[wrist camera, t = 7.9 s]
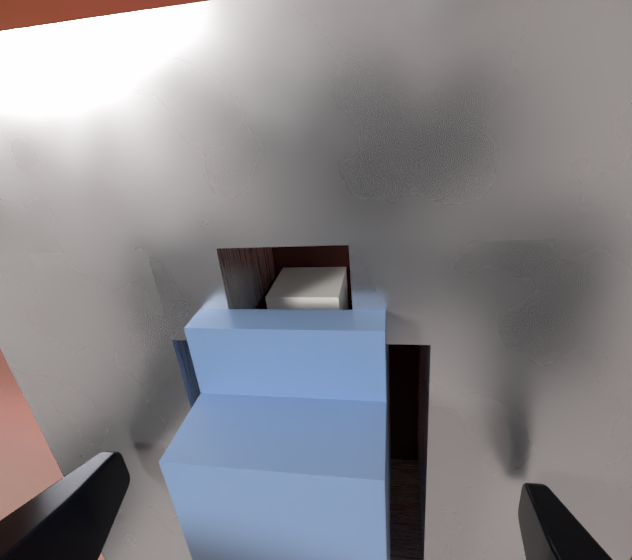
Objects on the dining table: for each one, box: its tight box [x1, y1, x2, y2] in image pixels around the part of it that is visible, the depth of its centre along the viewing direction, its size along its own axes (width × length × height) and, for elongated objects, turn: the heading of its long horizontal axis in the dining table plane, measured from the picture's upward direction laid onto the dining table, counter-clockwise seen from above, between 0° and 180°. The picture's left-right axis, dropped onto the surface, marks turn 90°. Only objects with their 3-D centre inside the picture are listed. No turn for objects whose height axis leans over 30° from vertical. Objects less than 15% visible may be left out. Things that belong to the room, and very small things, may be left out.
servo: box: [159, 267, 391, 560], centre depth 10 cm, size 8×4×5 cm, turn 5°
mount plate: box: [0, 0, 632, 560], centre depth 11 cm, size 18×14×3 cm
